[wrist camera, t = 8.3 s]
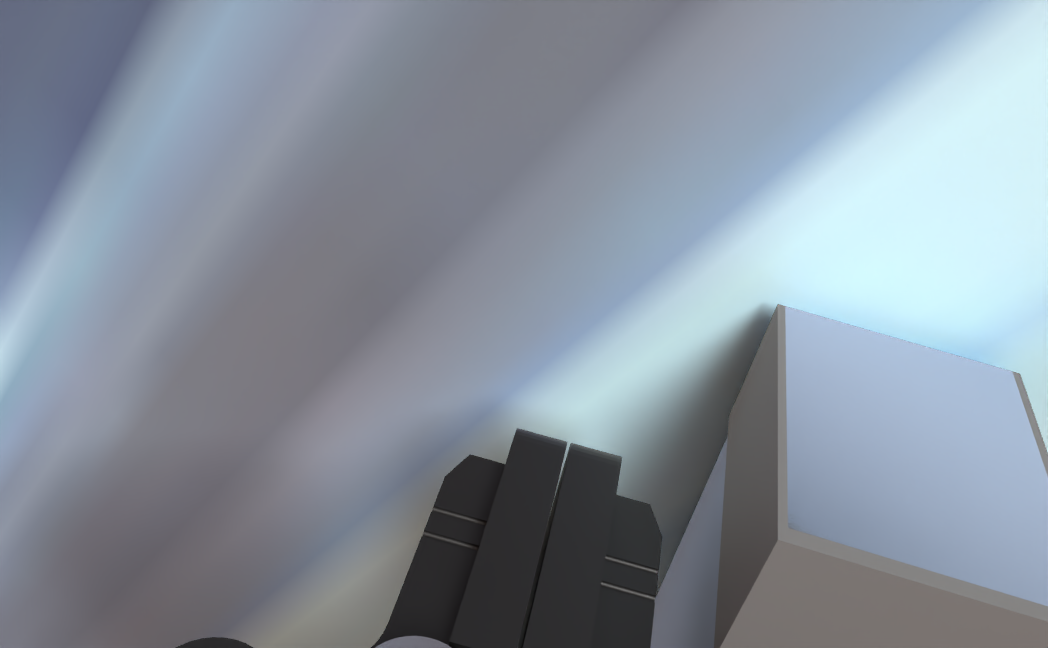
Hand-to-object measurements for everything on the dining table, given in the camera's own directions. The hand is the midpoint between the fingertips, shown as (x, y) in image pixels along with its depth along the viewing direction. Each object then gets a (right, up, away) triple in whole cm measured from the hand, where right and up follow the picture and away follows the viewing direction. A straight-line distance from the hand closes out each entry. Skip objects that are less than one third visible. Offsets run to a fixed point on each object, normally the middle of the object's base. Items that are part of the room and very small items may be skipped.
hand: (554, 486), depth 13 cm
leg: (+3, -3, +3) cm, 6 cm away
